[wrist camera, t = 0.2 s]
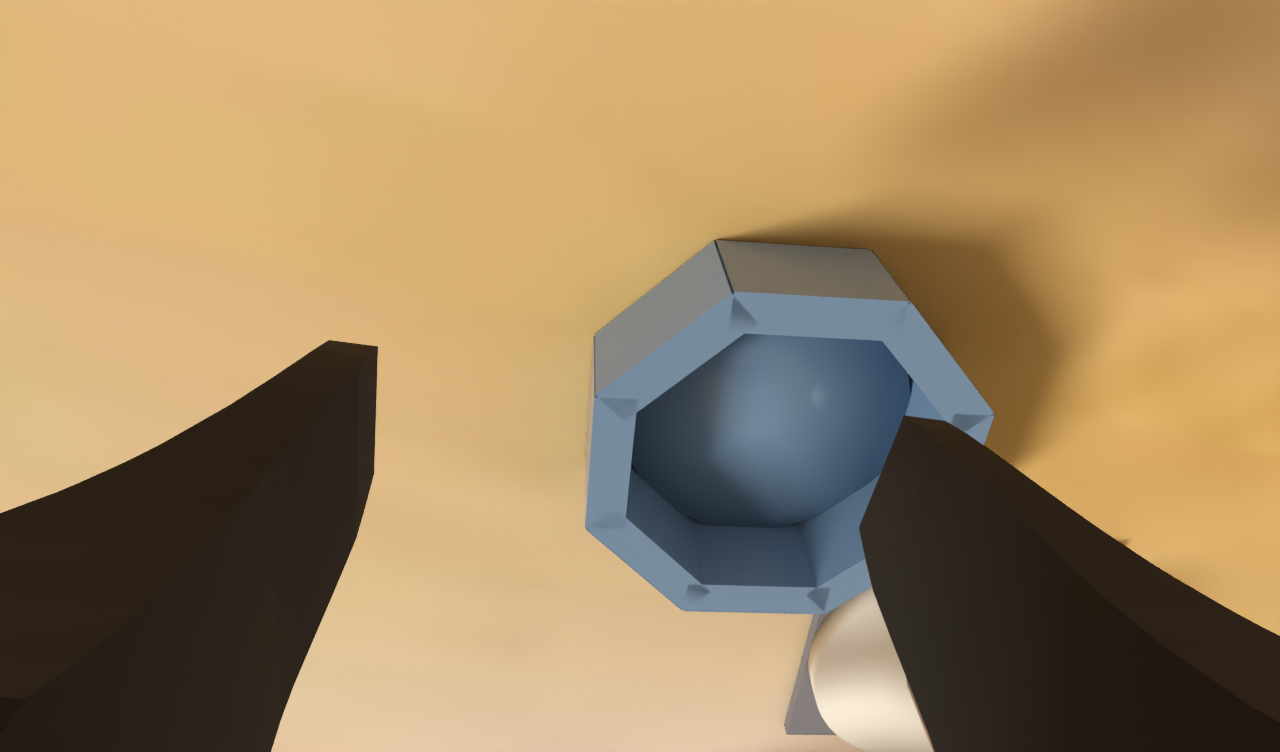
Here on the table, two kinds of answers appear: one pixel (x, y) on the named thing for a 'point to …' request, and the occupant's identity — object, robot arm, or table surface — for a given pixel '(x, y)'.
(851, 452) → the bowl
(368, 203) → the table surface
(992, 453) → the robot arm
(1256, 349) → the table surface
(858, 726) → the lid
